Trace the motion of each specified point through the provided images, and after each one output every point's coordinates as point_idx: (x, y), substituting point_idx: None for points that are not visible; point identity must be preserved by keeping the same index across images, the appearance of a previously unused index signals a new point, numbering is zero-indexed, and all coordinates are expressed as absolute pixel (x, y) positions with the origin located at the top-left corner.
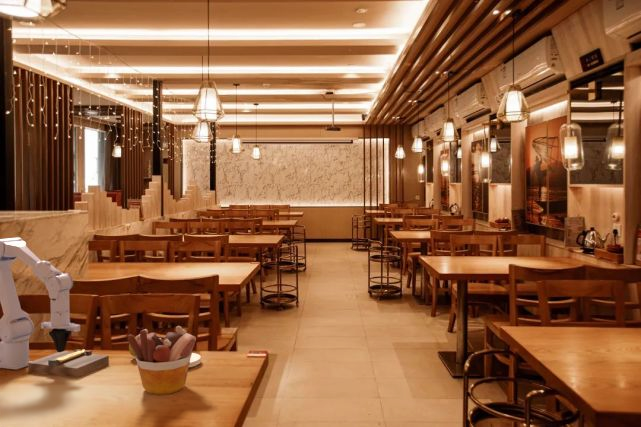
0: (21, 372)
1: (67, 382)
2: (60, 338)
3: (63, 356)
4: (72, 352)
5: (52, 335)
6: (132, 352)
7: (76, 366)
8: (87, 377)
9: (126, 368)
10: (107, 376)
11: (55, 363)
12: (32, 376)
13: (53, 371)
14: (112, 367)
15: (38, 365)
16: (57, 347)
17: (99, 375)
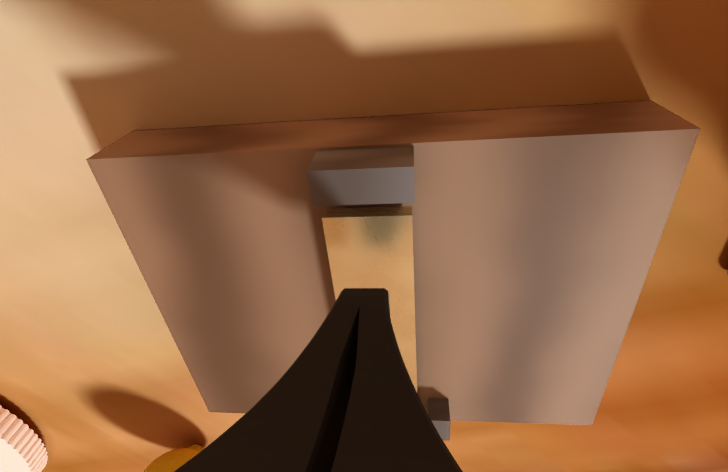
0: (715, 61)
1: (72, 8)
2: (237, 423)
3: (407, 311)
4: (486, 413)
5: (387, 466)
6: (167, 464)
7: (142, 197)
8: (82, 162)
9: (82, 342)
10: (8, 218)
11: (318, 158)
12: (510, 8)
13: (353, 127)
14: (158, 337)
15: (540, 130)
16: (360, 320)
17: (66, 218)
